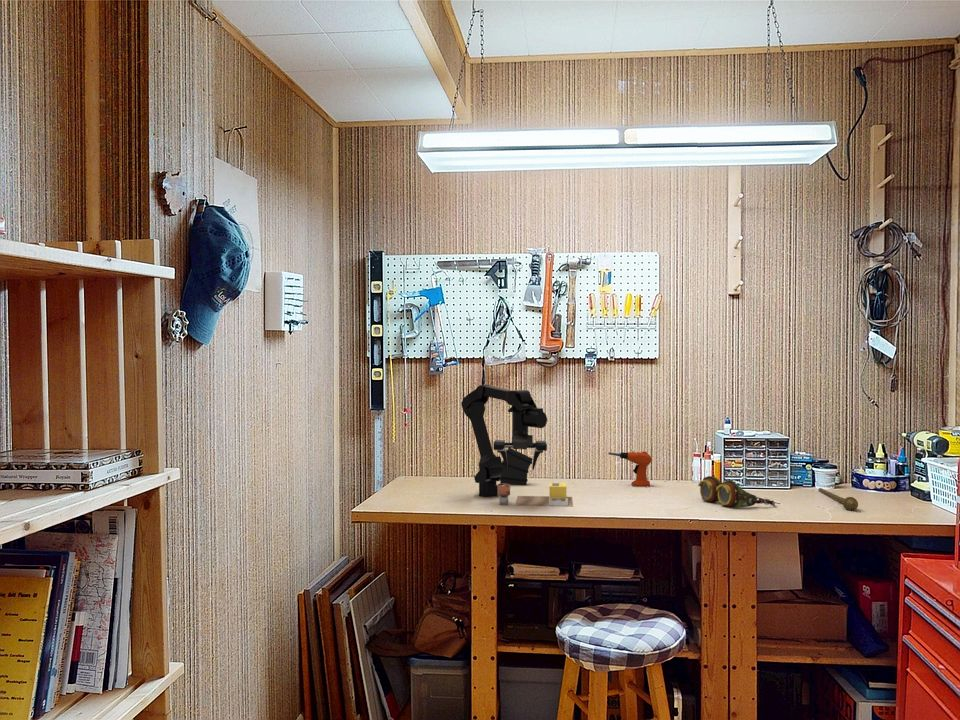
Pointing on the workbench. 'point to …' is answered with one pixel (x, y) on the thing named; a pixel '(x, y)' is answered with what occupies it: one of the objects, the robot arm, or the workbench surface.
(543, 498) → the plywood board
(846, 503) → the ball headed mace
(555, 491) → the block
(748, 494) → the goggles
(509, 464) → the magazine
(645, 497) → the workbench surface
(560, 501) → the frame
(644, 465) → the toy drill
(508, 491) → the copper and grey cylinder
